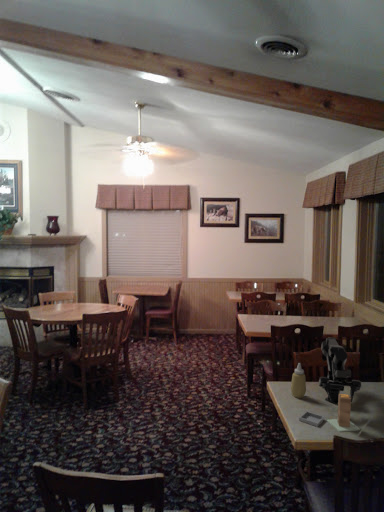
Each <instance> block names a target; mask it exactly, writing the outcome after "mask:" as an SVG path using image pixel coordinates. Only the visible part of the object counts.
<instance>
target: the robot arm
mask: <svg viewBox="0 0 384 512" xmlns="http://www.w3.org/2000/svg"><path fill="white" fill-rule="evenodd" d="M320 346H321V348H320V349H321V351H322V354H323V356H324V357H325V358H326V362H327V363H326V364H327V369H328V372H327V376H320V377H319V380H318V387H321V388H322V389H323V390H325V392H326V395H327V397H326V398H324V400H325V401H327V402H329V403H333V404H335V405H338V399H339V394H341V393H340V392H344V390H345V387H350V389H349V391H350V393H349V396H350V398H351V403H353V399H354V396H355V393H356V392H358V391H360V390H361V388H362V381H360V380H359V379H358V380H357V379H352V380H351V381H348V378H351V377H352V371H351V369H345V365H346V362H347V359H348V353H347V351H346V349H345V348H344V346H342V345H339V343H338V342H337V338H335V337H326V339H325V340H323V341H322V342H321V345H320Z"/></svg>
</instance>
